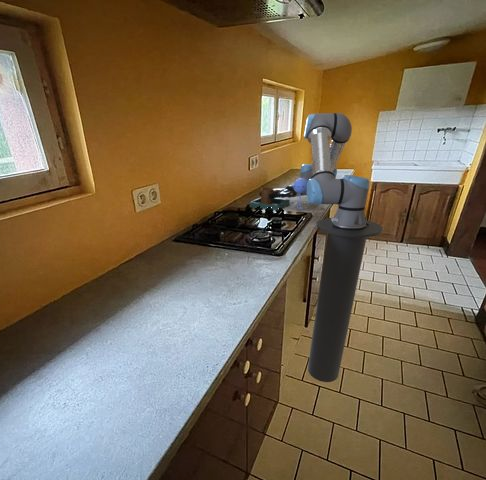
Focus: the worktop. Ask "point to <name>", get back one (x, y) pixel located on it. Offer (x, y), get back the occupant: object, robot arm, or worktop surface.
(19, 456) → the worktop surface
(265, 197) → the mug
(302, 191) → the baby rattle
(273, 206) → the tray
